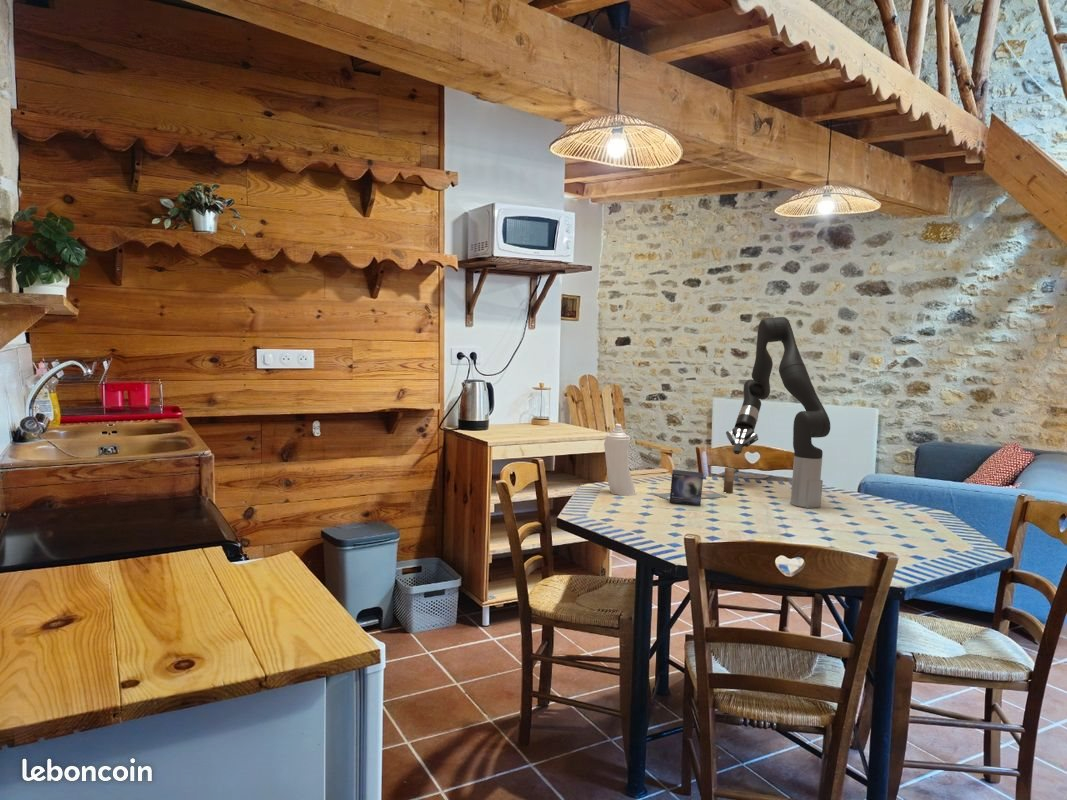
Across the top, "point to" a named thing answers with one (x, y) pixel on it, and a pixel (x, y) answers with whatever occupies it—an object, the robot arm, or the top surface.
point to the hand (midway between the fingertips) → (736, 453)
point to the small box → (686, 487)
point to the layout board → (704, 495)
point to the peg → (728, 480)
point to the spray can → (618, 462)
